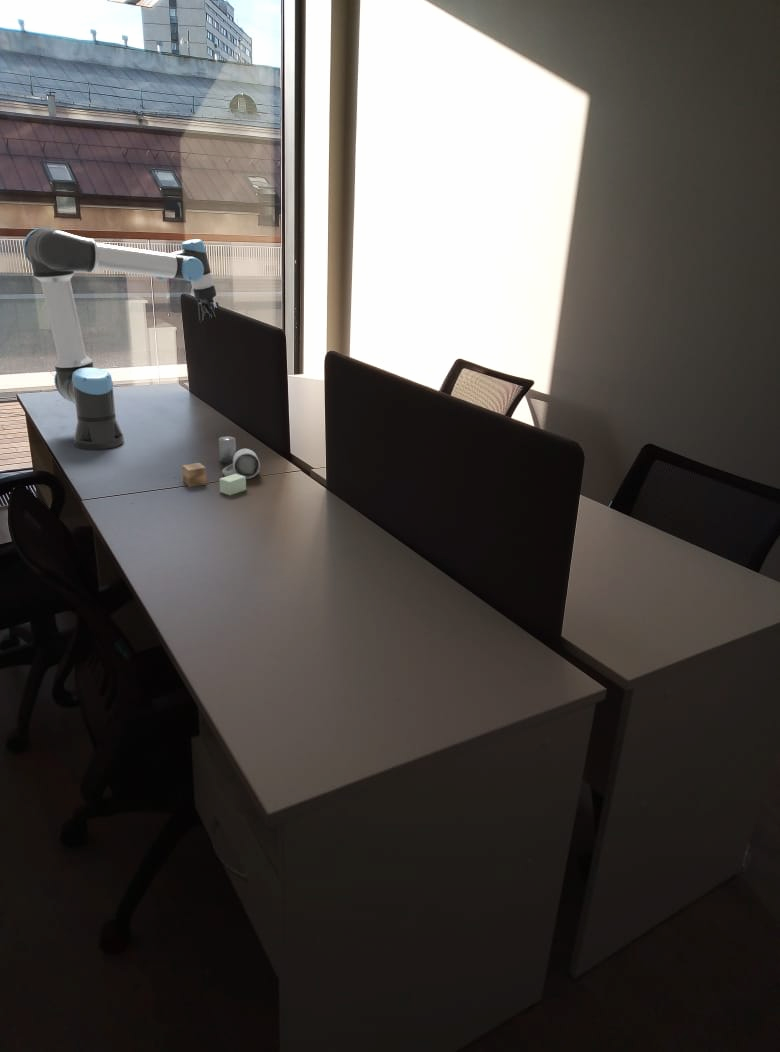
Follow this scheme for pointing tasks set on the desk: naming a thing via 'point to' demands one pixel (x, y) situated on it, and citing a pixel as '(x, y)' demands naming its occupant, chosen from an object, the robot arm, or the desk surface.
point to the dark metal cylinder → (227, 449)
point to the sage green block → (232, 484)
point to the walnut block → (194, 474)
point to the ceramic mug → (243, 464)
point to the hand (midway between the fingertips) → (218, 345)
